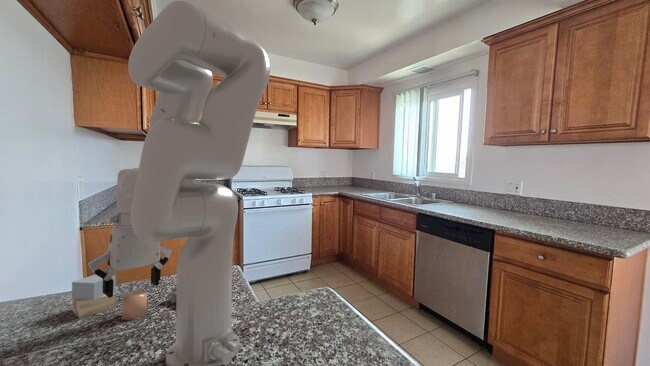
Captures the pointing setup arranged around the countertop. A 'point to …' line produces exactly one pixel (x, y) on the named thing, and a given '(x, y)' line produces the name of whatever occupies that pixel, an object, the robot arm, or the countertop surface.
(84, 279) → the tower top block
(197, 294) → the robot arm
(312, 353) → the countertop surface
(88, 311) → the tower base block
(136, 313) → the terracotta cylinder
